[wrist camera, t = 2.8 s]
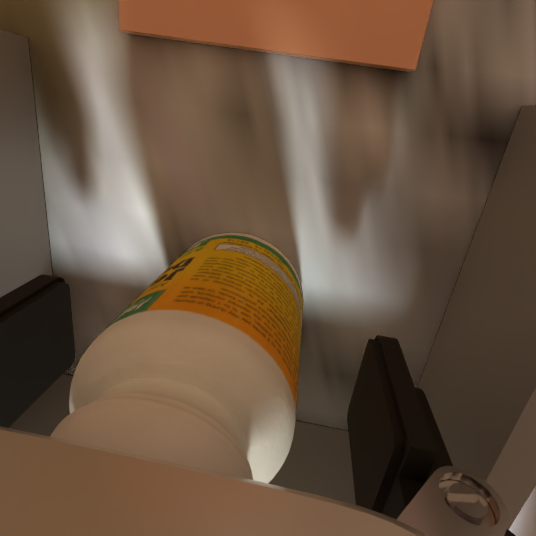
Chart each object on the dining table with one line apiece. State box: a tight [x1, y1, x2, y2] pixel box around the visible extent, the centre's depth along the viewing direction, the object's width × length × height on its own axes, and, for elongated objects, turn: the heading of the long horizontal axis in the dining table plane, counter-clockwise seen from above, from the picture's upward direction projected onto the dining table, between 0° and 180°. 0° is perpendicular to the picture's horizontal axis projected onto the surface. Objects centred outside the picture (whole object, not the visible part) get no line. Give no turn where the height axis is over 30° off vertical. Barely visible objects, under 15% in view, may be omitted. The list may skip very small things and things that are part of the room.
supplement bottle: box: [50, 233, 303, 483], centre depth 10 cm, size 5×5×10 cm
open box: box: [0, 30, 536, 530], centre depth 12 cm, size 18×15×6 cm
